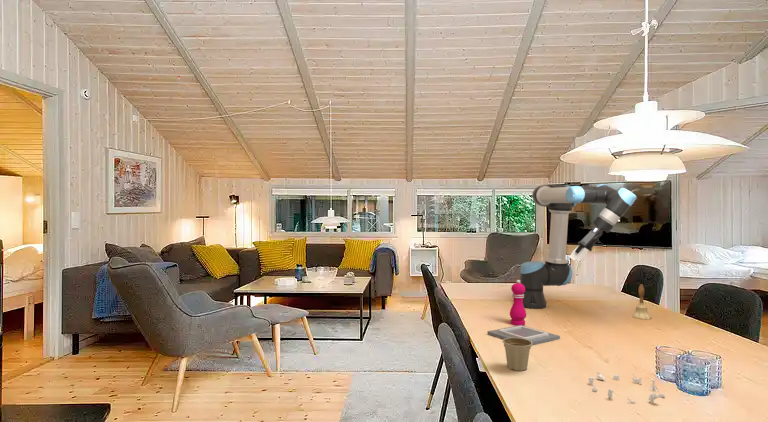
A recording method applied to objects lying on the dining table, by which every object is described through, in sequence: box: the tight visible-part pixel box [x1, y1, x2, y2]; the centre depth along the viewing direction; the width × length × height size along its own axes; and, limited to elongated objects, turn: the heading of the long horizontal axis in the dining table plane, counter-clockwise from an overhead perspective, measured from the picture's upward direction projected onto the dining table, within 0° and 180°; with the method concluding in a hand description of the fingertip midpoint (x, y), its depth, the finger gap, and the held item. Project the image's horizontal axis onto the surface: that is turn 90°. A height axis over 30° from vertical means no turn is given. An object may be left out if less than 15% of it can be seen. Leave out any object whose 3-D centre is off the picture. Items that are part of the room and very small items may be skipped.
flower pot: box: [502, 338, 533, 372], centre depth 152 cm, size 9×9×9 cm
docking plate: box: [487, 325, 561, 347], centre depth 189 cm, size 20×20×2 cm
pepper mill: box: [509, 279, 527, 326], centre depth 209 cm, size 7×7×20 cm
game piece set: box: [588, 371, 666, 404], centre depth 134 cm, size 19×20×4 cm
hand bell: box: [631, 283, 652, 320], centre depth 224 cm, size 8×8×16 cm
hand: (574, 259), depth 205 cm, fingers open, 13 cm apart
